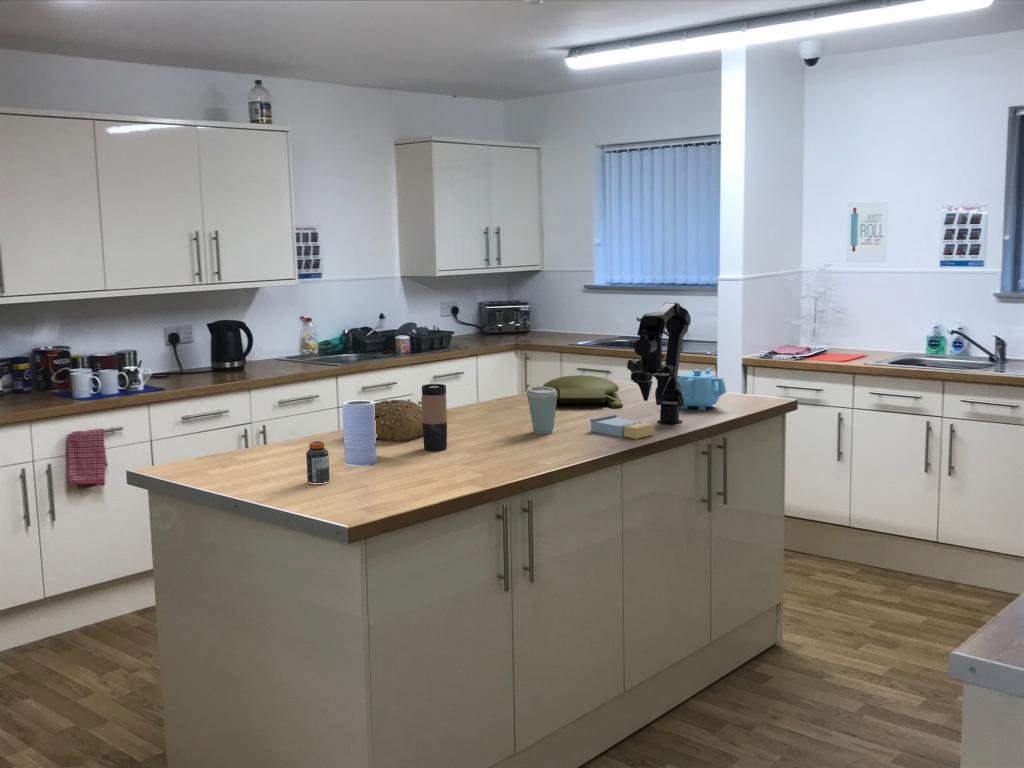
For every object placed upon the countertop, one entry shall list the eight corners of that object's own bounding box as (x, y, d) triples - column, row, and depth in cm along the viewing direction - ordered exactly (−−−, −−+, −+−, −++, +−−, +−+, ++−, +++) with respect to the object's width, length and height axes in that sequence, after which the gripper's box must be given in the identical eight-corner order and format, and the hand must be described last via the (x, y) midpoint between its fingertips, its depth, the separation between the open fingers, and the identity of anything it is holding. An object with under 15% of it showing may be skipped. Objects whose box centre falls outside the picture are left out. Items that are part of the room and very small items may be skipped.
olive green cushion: (623, 409, 377) (623, 384, 375) (541, 410, 377) (541, 384, 375) (615, 394, 411) (615, 370, 410) (540, 395, 412) (540, 371, 410)
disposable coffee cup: (564, 431, 335) (564, 387, 333) (543, 437, 327) (543, 392, 325) (541, 427, 342) (540, 384, 340) (519, 432, 335) (519, 388, 332)
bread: (440, 432, 339) (440, 397, 337) (408, 444, 320) (407, 407, 318) (379, 426, 349) (378, 393, 347) (344, 438, 330) (343, 403, 328)
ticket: (612, 426, 343) (612, 414, 342) (643, 432, 332) (643, 419, 332) (589, 431, 336) (589, 418, 335) (620, 437, 325) (620, 424, 324)
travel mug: (451, 447, 314) (450, 384, 311) (441, 452, 307) (440, 388, 304) (429, 445, 317) (427, 383, 314) (419, 450, 310) (417, 387, 307)
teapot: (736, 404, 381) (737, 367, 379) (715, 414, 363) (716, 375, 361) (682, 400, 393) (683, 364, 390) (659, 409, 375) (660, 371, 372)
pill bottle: (308, 480, 275) (307, 440, 274) (330, 479, 276) (329, 439, 274) (306, 485, 269) (304, 444, 268) (328, 485, 270) (326, 444, 268)
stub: (642, 432, 331) (642, 421, 331) (654, 434, 328) (654, 423, 327) (624, 436, 325) (624, 425, 325) (635, 438, 322) (635, 427, 321)
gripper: (647, 346, 341) (647, 391, 344) (616, 353, 327) (617, 400, 330) (675, 349, 334) (675, 395, 337) (646, 356, 320) (646, 404, 323)
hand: (653, 398), depth 332 cm, fingers open, 9 cm apart
